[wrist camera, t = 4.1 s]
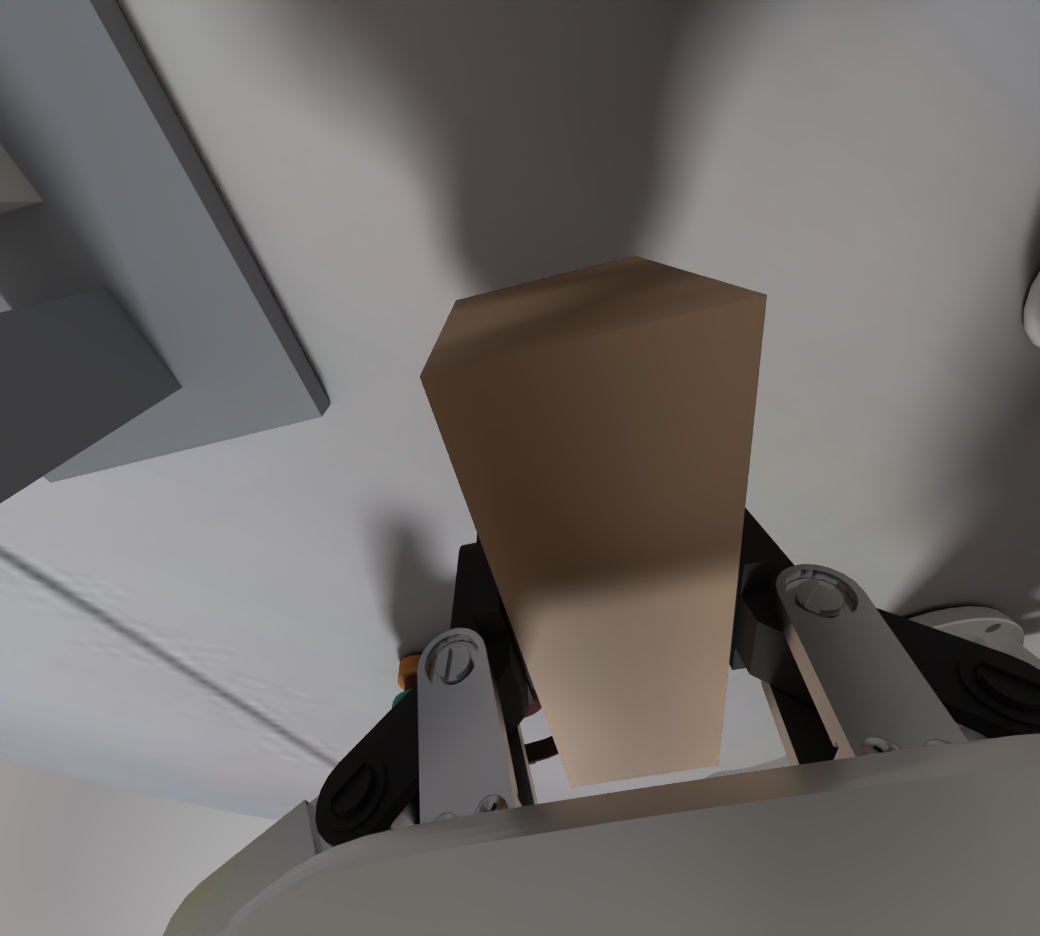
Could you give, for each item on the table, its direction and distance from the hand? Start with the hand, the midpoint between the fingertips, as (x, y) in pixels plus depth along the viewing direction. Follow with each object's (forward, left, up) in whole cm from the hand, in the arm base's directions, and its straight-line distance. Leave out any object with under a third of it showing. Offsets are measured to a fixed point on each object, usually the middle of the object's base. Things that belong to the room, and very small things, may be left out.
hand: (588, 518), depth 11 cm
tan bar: (0, 0, -1) cm, 1 cm away
